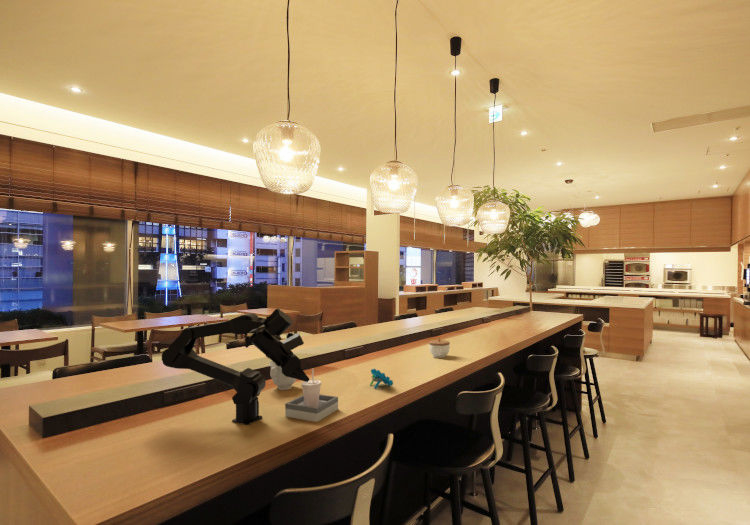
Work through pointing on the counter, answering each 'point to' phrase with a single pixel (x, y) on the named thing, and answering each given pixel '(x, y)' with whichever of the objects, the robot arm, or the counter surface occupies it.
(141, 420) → the counter surface
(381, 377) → the blue bumpy figure
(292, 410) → the socket box
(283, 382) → the teacup
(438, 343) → the lidded jar
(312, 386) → the smoothie
